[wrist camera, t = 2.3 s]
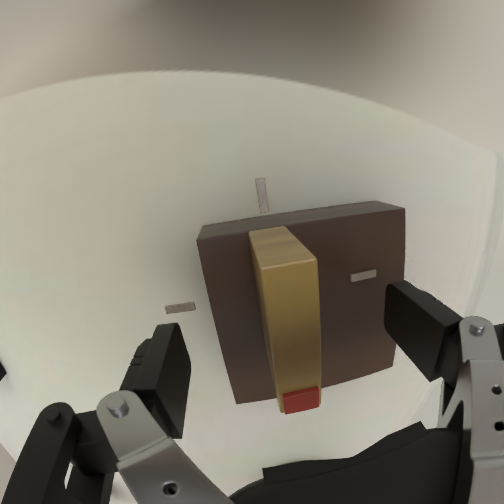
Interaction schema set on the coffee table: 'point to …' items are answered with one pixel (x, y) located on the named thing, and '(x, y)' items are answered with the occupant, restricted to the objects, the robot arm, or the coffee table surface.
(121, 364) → the coffee table surface
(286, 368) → the lock knob
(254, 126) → the coffee table surface
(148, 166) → the coffee table surface
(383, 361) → the panel
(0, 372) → the button block
